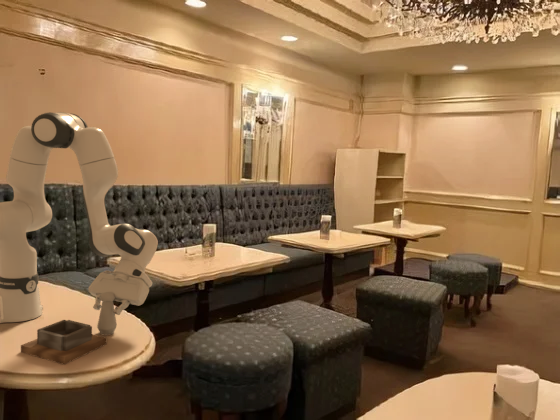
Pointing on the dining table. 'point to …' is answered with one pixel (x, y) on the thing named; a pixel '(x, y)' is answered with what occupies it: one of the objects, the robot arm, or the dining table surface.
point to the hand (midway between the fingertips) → (105, 311)
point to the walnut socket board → (63, 342)
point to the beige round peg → (107, 314)
